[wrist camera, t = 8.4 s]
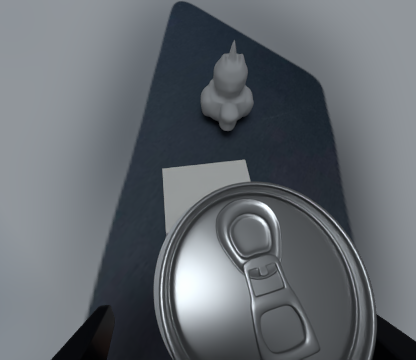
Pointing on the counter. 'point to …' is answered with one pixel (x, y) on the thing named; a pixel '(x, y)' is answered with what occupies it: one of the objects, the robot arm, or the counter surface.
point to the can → (262, 281)
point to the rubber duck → (228, 91)
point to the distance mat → (197, 185)
